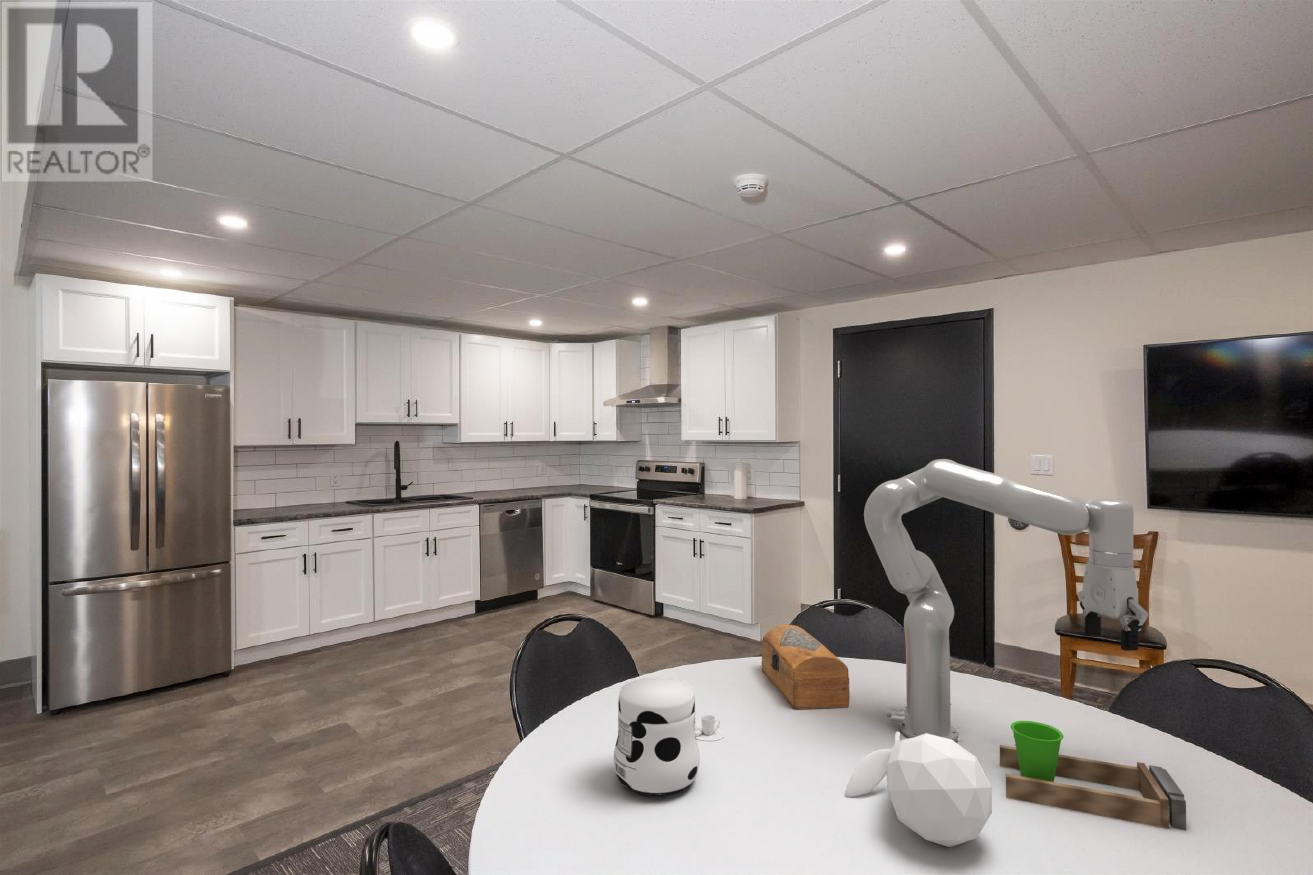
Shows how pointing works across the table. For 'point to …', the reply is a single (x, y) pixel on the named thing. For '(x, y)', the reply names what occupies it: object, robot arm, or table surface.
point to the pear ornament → (929, 787)
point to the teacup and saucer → (708, 728)
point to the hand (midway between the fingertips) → (1110, 642)
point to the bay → (1154, 785)
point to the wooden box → (804, 669)
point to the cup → (1037, 749)
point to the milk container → (656, 736)
